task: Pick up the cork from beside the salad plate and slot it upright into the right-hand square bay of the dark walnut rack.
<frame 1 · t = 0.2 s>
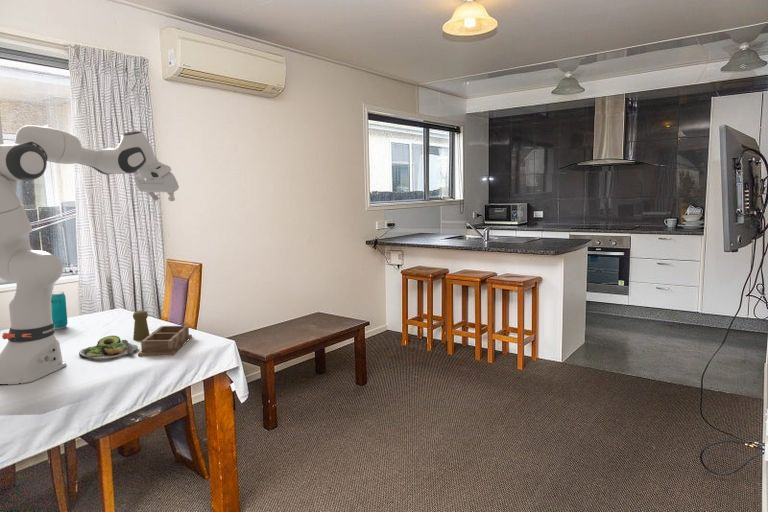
hand: (164, 200, 207), 54 cm above the table, tool tilted 30°, fingers open, 8 cm apart
walnut rack: (166, 345, 186), on the table
beverage can: (59, 328, 209), on the table
salad plate: (109, 353, 179), on the table
cork: (141, 339, 195), on the table
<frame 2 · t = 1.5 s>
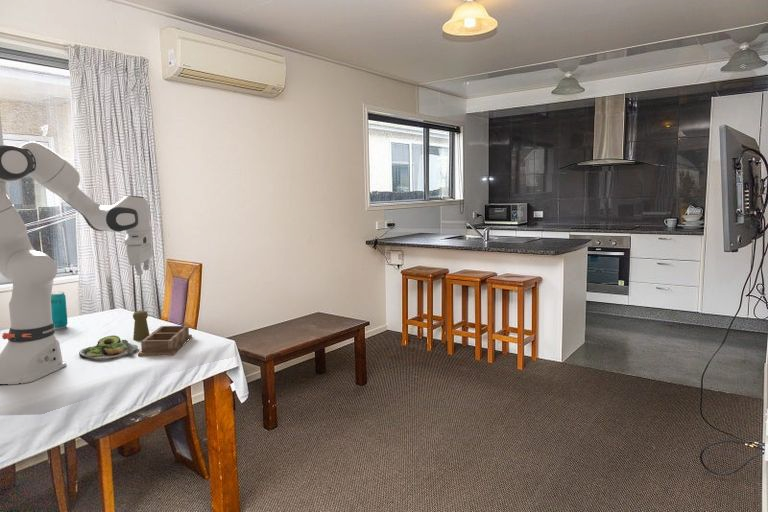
hand: (143, 272, 194), 26 cm above the table, tool pointing down, fingers open, 8 cm apart
nothing on the table moved.
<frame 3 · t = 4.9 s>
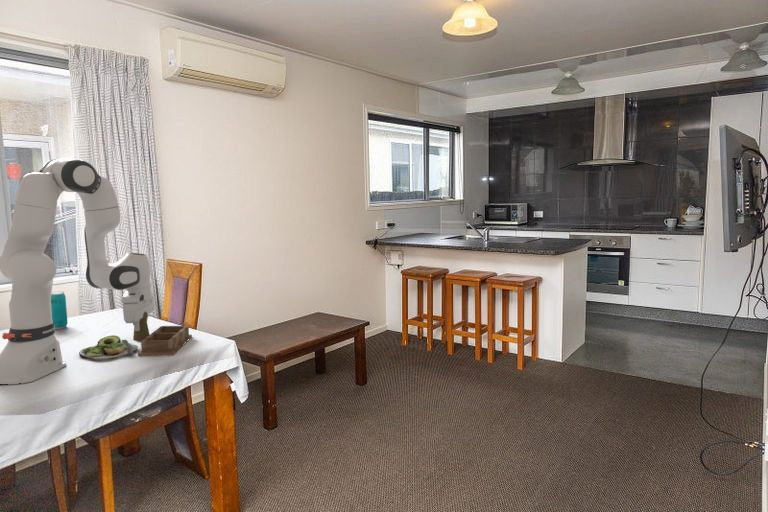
hand: (141, 328, 194), 4 cm above the table, tool pointing down, fingers closed on cork, 5 cm apart
cork: (141, 338, 195), on the table, touching gripper
everything else where it was.
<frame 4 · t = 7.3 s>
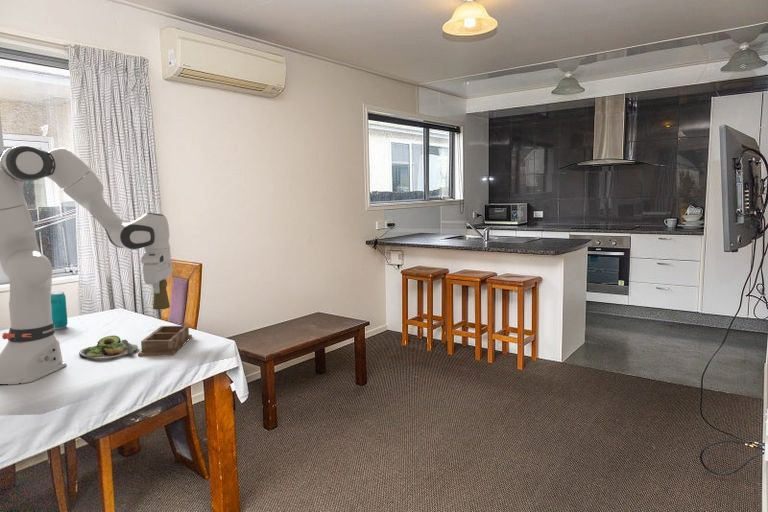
hand: (160, 291, 189), 20 cm above the table, tool pointing down, fingers closed on cork, 4 cm apart
cork: (161, 308, 190), point 13 cm above the table, touching gripper
everything else where it was.
when the fingers open (8 cm above the table, at t = 9.7 s): cork stays where it is, resting on walnut rack.
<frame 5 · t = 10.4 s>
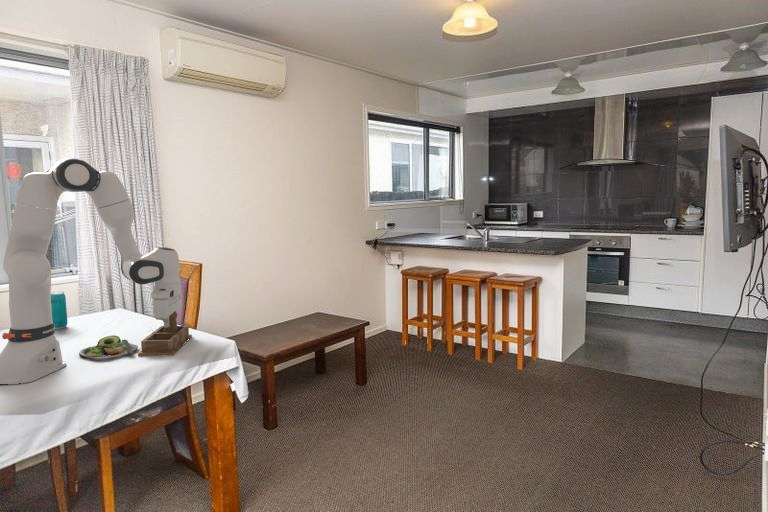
hand: (170, 325, 190), 7 cm above the table, tool pointing down, fingers open, 4 cm apart
cork: (171, 339, 191), point 1 cm above the table, touching gripper, walnut rack
everything else where it was.
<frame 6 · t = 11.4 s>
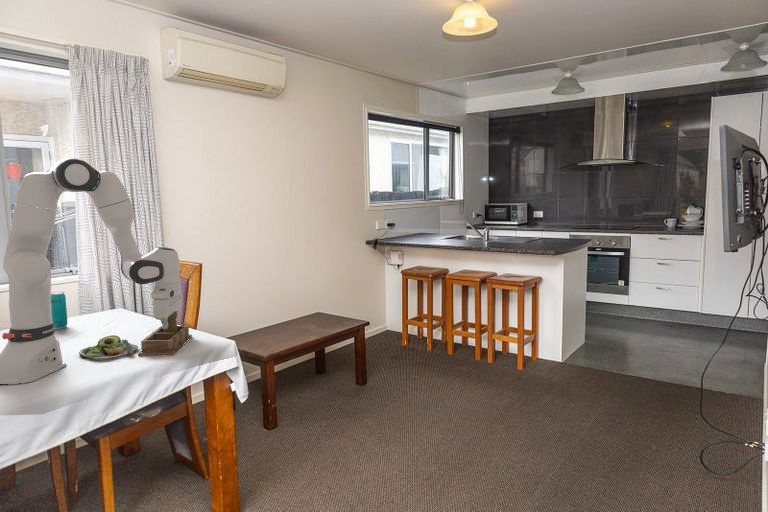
hand: (170, 324, 190), 7 cm above the table, tool pointing down, fingers open, 8 cm apart
cork: (171, 339, 190), point 1 cm above the table, touching walnut rack
everything else where it was.
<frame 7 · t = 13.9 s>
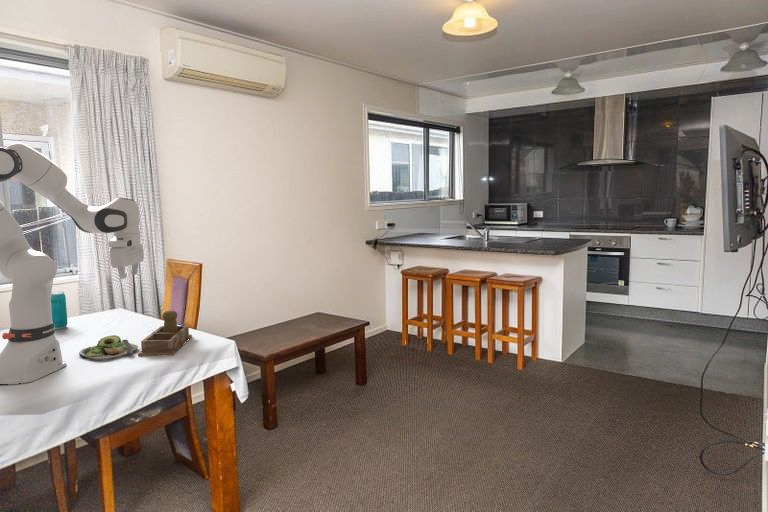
hand: (129, 276, 191), 25 cm above the table, tool pointing down, fingers open, 8 cm apart
nothing on the table moved.
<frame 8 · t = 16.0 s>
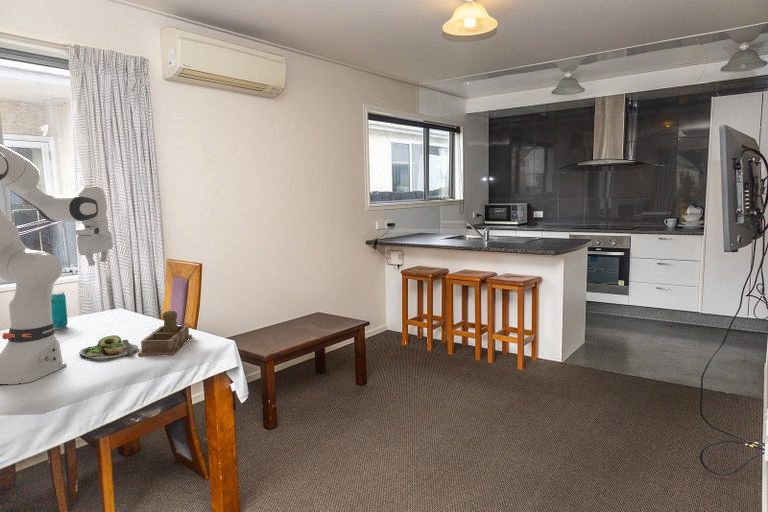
hand: (97, 263, 195), 29 cm above the table, tool pointing down, fingers open, 8 cm apart
nothing on the table moved.
at the end: cork 0.1 cm from the target spot on the walnut rack, point 1.0 cm above the walnut rack's base; cork tilted 0°; the gripper is holding nothing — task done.
